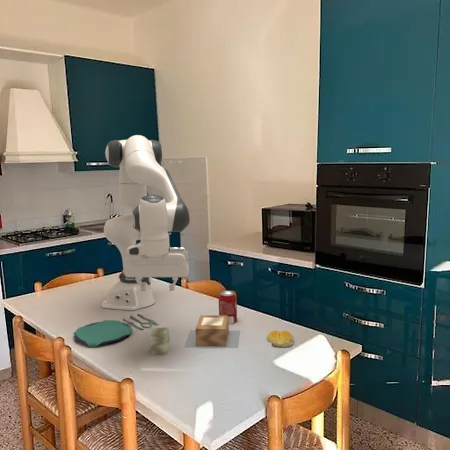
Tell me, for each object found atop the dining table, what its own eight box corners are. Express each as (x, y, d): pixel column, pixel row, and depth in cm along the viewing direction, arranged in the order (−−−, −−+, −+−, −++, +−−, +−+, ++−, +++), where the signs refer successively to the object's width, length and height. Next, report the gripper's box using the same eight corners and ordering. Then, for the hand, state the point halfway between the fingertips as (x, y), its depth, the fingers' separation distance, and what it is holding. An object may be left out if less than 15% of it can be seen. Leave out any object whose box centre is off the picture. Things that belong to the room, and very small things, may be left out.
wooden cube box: (196, 345, 144) (195, 328, 143) (201, 331, 156) (200, 314, 155) (226, 346, 143) (225, 328, 142) (228, 331, 155) (228, 315, 154)
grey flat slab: (183, 349, 143) (183, 347, 143) (190, 332, 157) (190, 330, 157) (238, 350, 142) (238, 347, 142) (240, 333, 156) (240, 330, 156)
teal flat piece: (65, 335, 158) (65, 329, 157) (137, 315, 178) (137, 309, 177) (89, 354, 143) (88, 347, 143) (165, 329, 163) (165, 323, 163)
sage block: (151, 357, 139) (150, 333, 138) (155, 350, 144) (153, 327, 142) (166, 357, 138) (165, 333, 137) (170, 350, 143) (168, 327, 142)
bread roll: (268, 336, 153) (268, 326, 152) (294, 339, 150) (294, 328, 150) (264, 347, 145) (264, 335, 144) (292, 349, 142) (292, 337, 142)
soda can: (235, 327, 161) (234, 296, 159) (217, 326, 162) (216, 295, 160) (238, 320, 168) (237, 290, 166) (221, 319, 169) (220, 289, 167)
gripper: (190, 245, 138) (191, 287, 140) (126, 245, 139) (129, 287, 141) (186, 249, 131) (188, 293, 134) (120, 250, 133) (123, 293, 135)
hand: (157, 290), depth 138 cm, fingers open, 8 cm apart
